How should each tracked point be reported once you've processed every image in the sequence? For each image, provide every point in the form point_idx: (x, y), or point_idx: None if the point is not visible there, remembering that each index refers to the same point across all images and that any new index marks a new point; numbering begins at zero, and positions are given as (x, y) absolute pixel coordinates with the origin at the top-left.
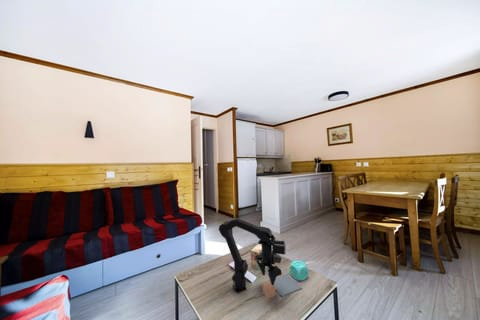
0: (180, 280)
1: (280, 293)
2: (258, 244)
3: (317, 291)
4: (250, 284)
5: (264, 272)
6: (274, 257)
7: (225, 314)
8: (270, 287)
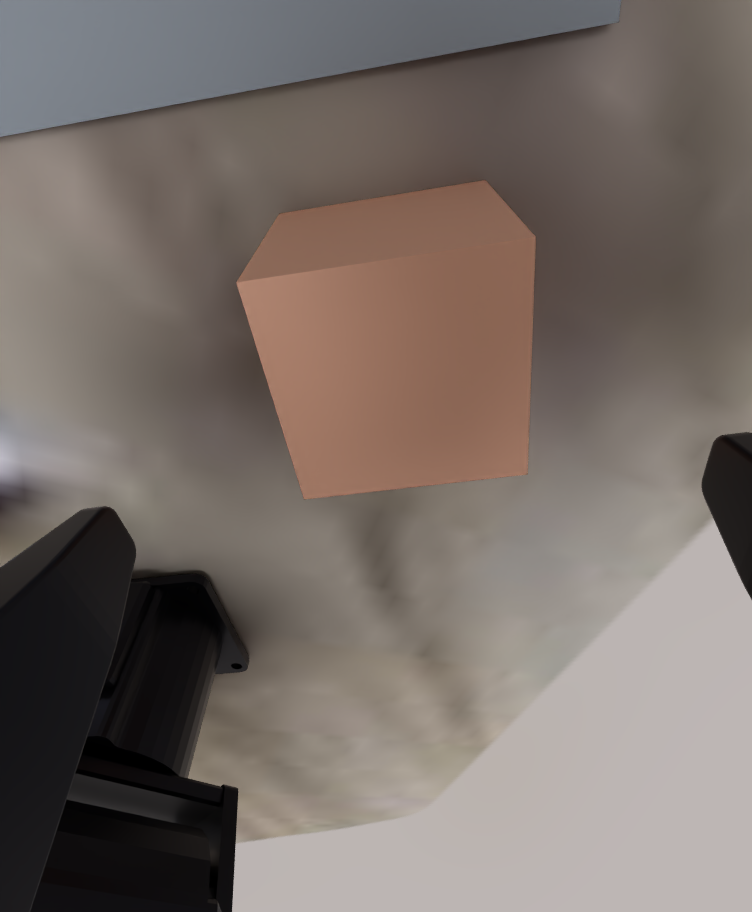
0: None
1: (525, 13)
2: None
3: None
4: (88, 503)
5: (66, 590)
6: None
7: (483, 741)
8: (502, 380)
